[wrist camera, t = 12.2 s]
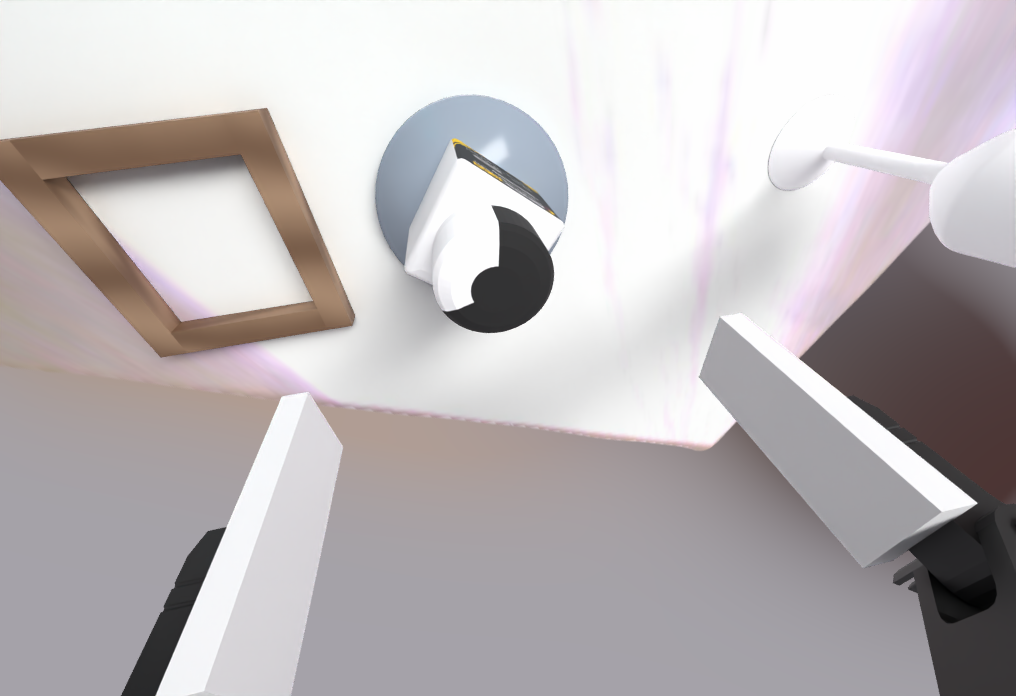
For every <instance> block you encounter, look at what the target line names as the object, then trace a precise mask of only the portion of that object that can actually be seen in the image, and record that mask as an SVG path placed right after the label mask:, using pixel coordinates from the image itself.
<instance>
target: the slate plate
mask: <svg viewBox="0 0 1016 696" xmlns="http://www.w3.org/2000/svg"><path fill="white" fill-rule="evenodd" d="M454 138H455V139H458V140H460V141H461V142H463V143H464V144H466V145H467V146H469V147H470V148H472V149H473V150H475V151H476V152H478V153H479V154H481V155H482V156H484V157H485V158H487V159H488V160H490V161H491V162H493V163H494V164H496V165H498V166H499V167H501V168H502V169H504V170H505V171H507V172H508V173H510V174H511V175H513V176H514V177H516V178H517V179H519V180H520V181H522V182H523V183H525V184H526V185H528V186H529V187H531V188H532V189H534V190H535V191H537V192H538V193H539V195H540V196H541V197H542V198H543V199H544V201H545V202H546V203H547V204H548V205H549V207H550V208H551V209H552V210H553V211H554V213H555V214H556V215H557V216H558V217H559V218H560V220H561V221H562V222H563V223H565V219H566V214H567V208H568V184H567V178H566V172H565V169H564V166H563V162H562V159H561V157H560V155H559V153H558V151H557V148H556V146H555V145H554V143H553V142H552V140H551V139H550V137H549V135H548V134H547V133H546V132H545V131H544V129H543V128H542V127H541V126H540V125H539V124H538V123H537V122H536V121H535V120H534V119H533V118H531V117H530V116H529V115H528V114H526V113H525V112H523V111H522V110H520V109H519V108H517V107H515V106H513V105H511V104H509V103H507V102H504V101H502V100H499V99H495V98H492V97H488V96H481V95H457V96H452V97H448V98H444V99H441V100H438V101H436V102H433V103H431V104H429V105H427V106H425V107H424V108H422V109H420V110H418V111H417V112H416V113H415V114H413V115H412V116H411V117H410V118H408V119H407V120H406V121H405V123H404V124H403V125H402V126H401V127H400V128H399V129H398V130H397V132H396V133H395V135H394V136H393V138H392V139H391V141H390V142H389V144H388V146H387V148H386V150H385V153H384V155H383V157H382V160H381V163H380V166H379V170H378V174H377V181H376V198H375V199H376V208H377V214H378V219H379V223H380V226H381V229H382V231H383V234H384V237H385V239H386V241H387V242H388V244H389V246H390V248H391V250H392V251H393V252H394V254H395V255H396V257H397V258H398V259H399V260H400V261H401V263H402V264H403V265H404V266H405V258H406V250H407V242H408V234H409V227H410V225H411V223H412V221H413V219H414V217H415V215H416V212H417V210H418V208H419V206H420V204H421V202H422V200H423V197H424V195H425V193H426V191H427V189H428V187H429V185H430V182H431V180H432V178H433V176H434V174H435V172H436V170H437V167H438V165H439V163H440V161H441V159H442V157H443V155H444V152H445V150H446V148H447V146H448V144H449V142H450V140H451V139H454ZM561 233H562V232H561ZM560 235H561V234H560ZM560 235H559V237H560ZM559 237H558V238H557V240H556V241H555V243H554V244H553V245H552V247H551V248H550V250H549V254H551V252H552V250H553V249H554V247H555V245H556V244H557V242H558V239H559ZM426 283H427V282H426ZM428 284H429V283H428ZM430 285H431V284H430ZM432 286H433V285H432Z"/></svg>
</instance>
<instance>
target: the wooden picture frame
mask: <svg viewBox="0 0 1016 696" xmlns="http://www.w3.org/2000/svg"><path fill="white" fill-rule="evenodd" d="M240 154H241V156H242V158H243V160H244V162H245V164H246V166H247V168H248V170H249V172H250V174H251V176H252V178H253V180H254V182H255V184H256V186H257V188H258V190H259V192H260V194H261V196H262V198H263V200H264V202H265V204H266V206H267V208H268V210H269V212H270V214H271V216H272V218H273V220H274V223H275V225H276V227H277V229H278V231H279V233H280V235H281V237H282V239H283V241H284V243H285V245H286V247H287V249H288V251H289V253H290V255H291V257H292V259H293V261H294V263H295V265H296V267H297V269H298V271H299V273H300V275H301V277H302V279H303V281H304V283H305V285H306V287H307V289H308V291H309V293H310V295H311V297H312V299H313V301H310V302H304V303H298V304H291V305H285V306H279V307H273V308H266V309H260V310H254V311H248V312H241V313H235V314H229V315H222V316H216V317H210V318H204V319H197V320H191V321H185V322H180V320H179V319H178V318H177V317H176V315H175V314H174V313H173V312H172V310H171V309H170V308H169V307H168V305H167V304H166V303H165V302H164V300H163V299H162V298H161V296H160V295H159V294H158V293H157V291H156V290H155V289H154V288H153V286H152V285H151V284H150V283H149V281H148V280H147V279H146V278H145V276H144V275H143V274H142V273H141V271H140V270H139V269H138V268H137V266H136V265H135V264H134V263H133V261H132V260H131V259H130V258H129V256H128V255H127V254H126V253H125V251H124V250H123V249H122V248H121V246H120V245H119V244H118V242H117V241H116V240H115V239H114V237H113V236H112V235H111V234H110V232H109V231H108V230H107V229H106V227H105V226H104V225H103V224H102V222H101V221H100V220H99V219H98V217H97V216H96V215H95V214H94V212H93V211H92V210H91V209H90V207H89V206H88V205H87V204H86V202H85V201H84V200H83V199H82V197H81V196H80V195H79V193H78V192H77V191H76V190H75V188H74V187H73V186H72V185H71V183H70V182H69V181H68V180H67V178H66V177H67V176H75V175H83V174H91V173H98V172H106V171H114V170H122V169H130V168H138V167H145V166H153V165H161V164H169V163H177V162H185V161H192V160H200V159H208V158H216V157H224V156H232V155H240ZM0 180H1V181H2V183H3V184H4V185H5V186H6V187H7V188H8V189H9V190H10V191H11V192H12V194H13V195H14V196H15V197H16V198H17V199H18V200H19V201H20V202H21V204H22V205H23V206H24V207H25V208H26V209H27V210H28V211H29V212H30V213H31V215H32V216H33V217H34V218H35V219H36V220H37V221H38V222H39V223H40V225H41V226H42V227H43V228H44V229H45V230H46V231H47V232H48V233H49V234H50V236H51V237H52V238H53V239H54V240H55V241H56V242H57V243H58V244H59V245H60V247H61V248H62V249H63V250H64V251H65V252H66V253H67V254H68V255H69V257H70V258H71V259H72V260H73V261H74V262H75V263H76V264H77V265H78V266H79V268H80V269H81V270H82V271H83V272H84V273H85V274H86V275H87V276H88V278H89V279H90V280H91V281H92V282H93V283H94V284H95V285H96V286H97V287H98V289H99V290H100V291H101V292H102V293H103V294H104V295H105V296H106V297H107V298H108V300H109V301H110V302H111V303H112V304H113V305H114V306H115V307H116V308H117V310H118V311H119V312H120V313H121V314H122V315H123V316H124V317H125V318H126V319H127V321H128V322H129V323H130V324H131V325H132V326H133V327H134V328H135V329H136V331H137V332H138V333H139V334H140V335H141V336H142V337H143V338H144V339H145V340H146V342H147V343H148V344H149V345H150V346H151V347H152V348H153V349H154V350H155V351H156V353H157V354H158V355H159V356H160V357H166V356H172V355H178V354H184V353H190V352H196V351H202V350H208V349H214V348H220V347H227V346H233V345H239V344H245V343H251V342H257V341H263V340H269V339H275V338H281V337H287V336H293V335H299V334H305V333H311V332H317V331H323V330H329V329H335V328H341V327H347V326H352V325H353V322H354V318H355V314H354V312H353V310H352V307H351V305H350V302H349V300H348V298H347V295H346V293H345V291H344V288H343V286H342V284H341V281H340V279H339V276H338V274H337V272H336V269H335V267H334V265H333V262H332V260H331V258H330V255H329V253H328V250H327V248H326V246H325V243H324V241H323V239H322V236H321V234H320V232H319V229H318V227H317V225H316V222H315V220H314V217H313V215H312V213H311V210H310V208H309V206H308V203H307V201H306V199H305V196H304V194H303V191H302V189H301V187H300V184H299V182H298V180H297V177H296V175H295V173H294V170H293V168H292V166H291V163H290V161H289V158H288V156H287V154H286V151H285V149H284V147H283V144H282V142H281V140H280V137H279V135H278V132H277V130H276V128H275V125H274V123H273V121H272V118H271V116H270V114H269V111H268V109H267V108H264V109H255V110H247V111H239V112H230V113H222V114H213V115H205V116H196V117H188V118H180V119H171V120H163V121H154V122H146V123H138V124H129V125H121V126H112V127H104V128H95V129H87V130H79V131H70V132H62V133H53V134H45V135H37V136H28V137H20V138H11V139H3V140H0Z"/></svg>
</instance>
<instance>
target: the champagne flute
mask: <svg viewBox="0 0 1016 696" xmlns="http://www.w3.org/2000/svg"><path fill="white" fill-rule="evenodd" d="M853 122H854V114H853V108H852V106H851V103H850V102H849V101H848V100H847V99H846V98H844V97H842V96H839V95H828V96H824V97H821V98H818V99H816V100H814V101H812V102H811V103H809V104H807V105H806V106H805V107H803V108H802V109H801V110H799V111H798V112H797V113H796V114H795V115H794V116H793V117H792V118H791V119H790V120H789V122H788V123H787V124H786V125H785V127H784V128H783V129H782V131H781V132H780V134H779V136H778V137H777V139H776V141H775V143H774V146H773V148H772V151H771V154H770V158H769V164H768V170H769V176H770V180H771V181H772V183H773V184H774V185H775V186H776V187H777V188H780V189H782V190H795V189H799V188H802V187H805V186H807V185H809V184H810V183H812V182H814V181H815V180H817V179H818V178H819V177H821V176H822V175H823V174H824V173H825V172H826V171H827V170H828V169H829V168H830V167H831V166H832V165H833V164H834V163H835V162H840V163H844V164H848V165H853V166H857V167H861V168H865V169H869V170H873V171H878V172H882V173H886V174H890V175H894V176H898V177H903V178H907V179H911V180H915V181H919V182H923V183H928V184H932V185H931V187H930V191H929V218H930V221H931V224H932V227H933V230H934V232H935V234H936V236H937V237H938V238H939V240H940V241H941V242H942V243H943V244H944V246H946V247H947V248H949V249H950V250H952V251H955V252H958V253H961V254H965V255H969V256H973V257H976V258H981V259H984V260H988V261H992V262H996V263H999V264H1004V265H1007V266H1011V267H1015V268H1016V129H1013V130H1011V131H1008V132H1005V133H1003V134H1000V135H998V136H996V137H994V138H992V139H990V140H989V141H987V142H985V143H983V144H981V145H979V146H977V147H975V148H973V149H972V150H970V151H968V152H966V153H964V154H962V155H960V156H958V157H957V158H955V159H954V160H952V161H951V162H950V163H945V162H940V161H934V160H929V159H924V158H919V157H913V156H908V155H903V154H898V153H893V152H887V151H882V150H877V149H872V148H866V147H861V146H856V145H851V144H847V142H848V140H849V138H850V135H851V132H852V128H853Z"/></svg>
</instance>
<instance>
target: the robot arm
mask: <svg viewBox="0 0 1016 696" xmlns="http://www.w3.org/2000/svg"><path fill="white" fill-rule="evenodd" d="M699 378H700V379H701V380H702V381H703V382H704V384H705V385H706V386H707V387H708V388H709V389H710V391H711V392H712V393H713V394H714V395H715V396H716V398H717V399H718V400H719V401H720V402H721V403H722V405H723V406H724V407H725V408H726V409H727V410H728V412H729V413H730V414H731V415H732V416H733V417H734V419H735V420H736V421H737V422H738V423H739V424H740V426H741V427H742V428H743V429H744V430H745V431H746V433H748V435H749V436H750V437H751V438H752V440H753V441H754V442H755V443H756V444H757V445H758V447H759V448H760V449H761V450H762V451H763V452H764V454H765V455H766V456H767V457H768V458H769V459H770V461H771V462H772V463H773V464H774V465H775V466H776V467H777V469H778V470H779V471H780V472H781V473H782V475H783V476H784V477H785V478H786V479H787V480H788V482H789V483H790V484H791V485H792V486H793V487H794V489H795V490H796V491H797V492H798V493H799V494H800V496H801V497H802V498H803V499H804V500H805V501H806V503H807V504H808V505H809V506H810V507H811V508H812V510H813V511H814V512H815V513H816V514H817V515H818V517H819V518H820V519H821V520H822V521H823V522H824V524H825V525H826V526H827V527H828V528H829V529H830V531H831V532H832V533H833V534H834V535H835V536H836V538H837V539H838V540H839V541H840V542H841V543H842V545H843V546H844V547H845V548H846V549H847V550H848V552H849V553H850V554H851V555H852V556H853V557H854V558H855V560H856V561H857V562H858V563H859V564H860V566H861V567H862V568H867V567H871V566H875V565H879V564H882V563H886V562H890V561H893V560H894V559H896V558H897V557H899V556H900V555H902V554H903V553H905V552H906V551H908V550H909V551H910V552H911V553H912V554H913V555H914V556H915V557H916V558H917V559H915V560H914V561H912V562H910V563H909V564H907V565H906V566H904V567H903V568H901V569H900V570H898V571H897V572H896V573H895V574H894V578H893V583H895V584H897V585H901V584H903V583H904V582H906V581H908V580H909V579H911V578H913V577H914V579H915V581H914V582H913V583H911V584H910V586H909V587H908V589H909V590H911V591H914V592H916V593H918V597H919V601H920V606H921V611H922V615H923V620H924V625H925V629H926V634H927V638H928V642H929V647H930V652H931V656H932V661H933V665H934V670H935V675H936V679H937V684H938V688H939V693H940V696H1016V504H1007V505H1006V504H1004V503H1002V502H1001V501H999V500H997V499H996V498H995V497H993V496H992V495H990V494H988V493H987V492H986V491H985V490H983V489H982V488H981V487H980V486H978V485H977V484H976V483H974V482H973V481H972V480H970V479H969V478H968V477H967V476H965V475H964V474H963V473H961V472H960V471H959V470H957V469H956V468H955V467H954V466H952V465H951V464H950V463H948V462H947V461H946V460H945V459H943V458H942V457H941V456H939V455H938V454H937V453H936V452H934V451H933V450H932V449H930V448H929V447H928V446H927V445H925V444H924V443H923V442H919V441H917V438H916V437H915V436H914V435H912V434H911V433H910V432H908V431H907V430H906V429H905V428H900V427H899V424H898V423H897V422H896V421H894V420H893V419H892V418H890V417H889V416H888V415H886V414H885V413H884V412H883V411H881V410H880V409H879V408H877V407H875V406H873V405H871V404H869V403H867V402H865V401H863V400H861V399H859V398H857V397H855V396H849V397H845V396H844V395H843V394H842V393H840V392H839V391H838V390H837V389H836V388H834V387H833V386H832V385H831V384H829V383H828V382H827V381H826V380H824V379H823V378H822V377H821V376H819V375H818V374H817V373H816V372H814V371H813V370H812V369H811V368H809V367H808V366H807V365H806V364H805V363H803V362H802V361H801V360H800V359H798V358H797V357H796V356H795V355H793V354H792V353H791V352H790V351H788V350H787V349H786V348H785V347H783V346H782V345H781V344H780V343H779V342H777V341H776V340H775V339H774V338H772V337H771V336H770V335H769V334H767V333H766V332H765V331H764V330H762V329H761V328H760V327H759V326H757V325H756V324H755V323H754V322H752V321H751V320H750V319H749V318H747V317H746V316H745V315H744V314H743V313H737V314H732V315H726V316H721V317H720V318H719V321H718V324H717V326H716V329H715V332H714V335H713V338H712V341H711V344H710V347H709V350H708V352H707V355H706V358H705V361H704V364H703V367H702V370H701V373H700V376H699ZM342 450H343V446H342V444H341V443H340V441H339V440H338V438H337V436H336V435H335V433H334V432H333V430H332V428H331V427H330V425H329V424H328V422H327V420H326V419H325V417H324V416H323V414H322V413H321V411H320V409H319V408H318V406H317V405H316V403H315V401H314V400H313V398H312V397H311V395H310V393H309V392H305V393H300V394H294V395H289V396H283V397H282V398H281V400H280V402H279V405H278V408H277V410H276V412H275V414H274V417H273V419H272V421H271V424H270V426H269V429H268V431H267V433H266V436H265V438H264V440H263V443H262V445H261V447H260V450H259V452H258V455H257V457H256V459H255V462H254V464H253V467H252V469H251V471H250V474H249V476H248V478H247V481H246V483H245V485H244V488H243V490H242V492H241V495H240V497H239V500H238V502H237V504H236V507H235V509H234V512H233V514H232V516H231V518H230V521H229V523H228V526H227V527H225V528H220V529H216V530H212V531H208V532H207V533H206V534H205V535H204V537H203V538H202V539H201V540H200V541H199V543H198V544H197V545H196V546H195V548H194V549H193V550H192V551H191V553H190V554H189V555H188V557H187V558H186V561H185V563H184V565H183V567H182V569H181V571H180V573H179V575H178V577H177V579H176V582H175V588H174V589H172V590H171V592H170V594H169V597H168V599H167V600H166V603H165V605H164V611H163V612H161V613H160V615H159V617H158V620H157V622H156V624H155V626H154V628H153V630H152V632H151V634H150V636H149V638H148V640H147V642H146V645H145V647H144V649H143V651H142V653H141V655H140V657H139V659H138V661H137V664H136V666H135V668H134V670H133V672H132V674H131V676H130V678H129V680H128V682H127V684H126V686H125V689H124V691H123V693H122V695H121V696H291V692H292V688H293V683H294V678H295V673H296V669H297V664H298V659H299V654H300V649H301V645H302V639H303V635H304V630H305V626H306V620H307V616H308V611H309V607H310V602H311V597H312V592H313V588H314V583H315V578H316V574H317V569H318V564H319V559H320V554H321V550H322V545H323V540H324V536H325V530H326V526H327V521H328V516H329V512H330V507H331V502H332V497H333V492H334V488H335V483H336V479H337V474H338V469H339V464H340V460H341V455H342Z"/></svg>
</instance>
